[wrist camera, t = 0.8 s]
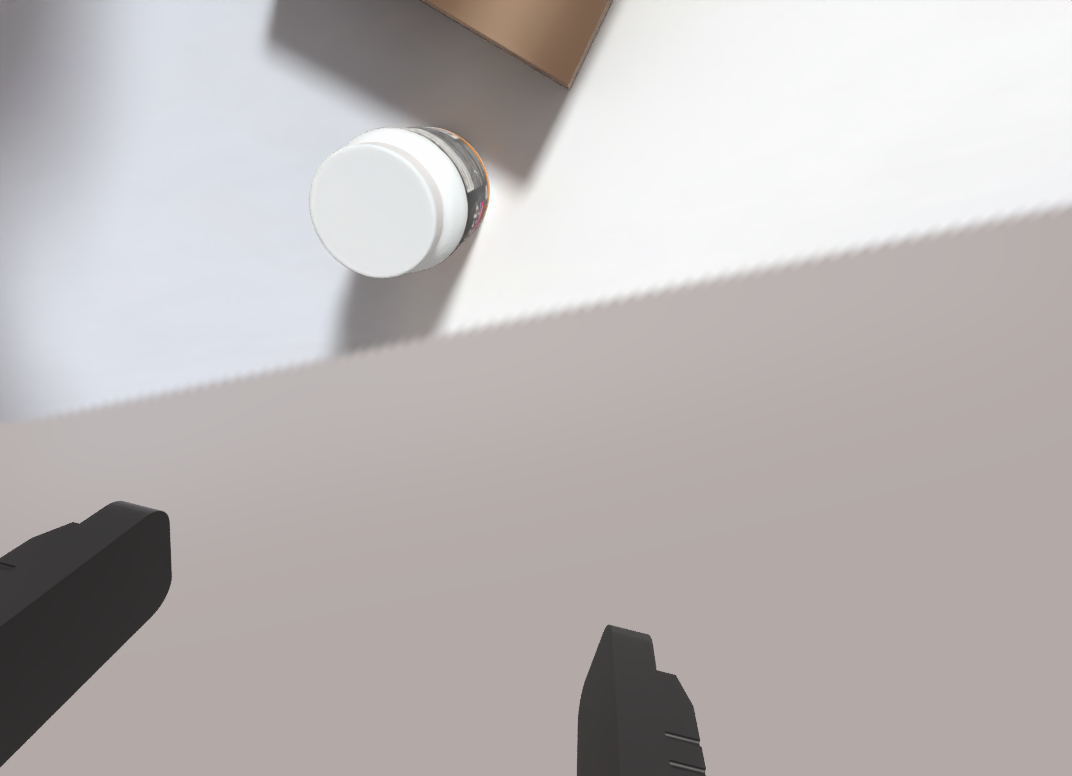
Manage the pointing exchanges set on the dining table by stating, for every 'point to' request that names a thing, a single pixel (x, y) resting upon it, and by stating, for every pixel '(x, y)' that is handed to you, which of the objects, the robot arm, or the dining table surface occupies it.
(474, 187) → the pill bottle
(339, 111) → the dining table surface
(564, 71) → the walnut base
